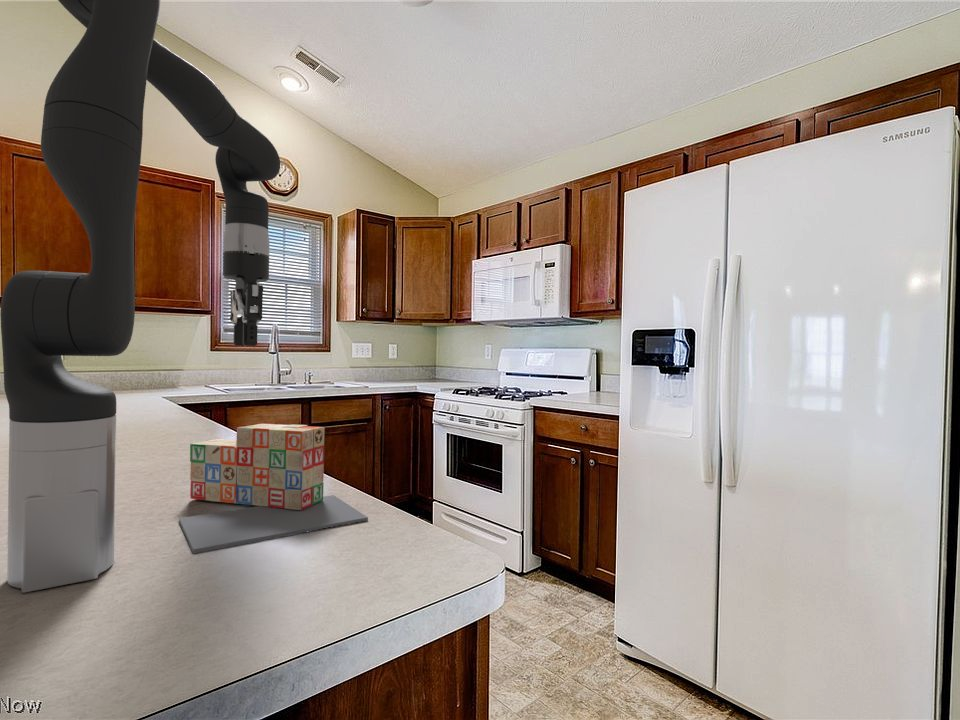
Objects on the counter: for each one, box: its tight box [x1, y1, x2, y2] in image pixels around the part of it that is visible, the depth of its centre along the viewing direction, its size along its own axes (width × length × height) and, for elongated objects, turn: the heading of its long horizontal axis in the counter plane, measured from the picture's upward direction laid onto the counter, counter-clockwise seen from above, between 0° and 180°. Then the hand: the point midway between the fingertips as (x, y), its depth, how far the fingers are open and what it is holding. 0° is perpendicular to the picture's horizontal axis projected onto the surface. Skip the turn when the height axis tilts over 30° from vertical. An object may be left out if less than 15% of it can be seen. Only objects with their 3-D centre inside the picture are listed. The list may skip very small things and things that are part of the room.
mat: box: [178, 494, 369, 554], centre depth 76 cm, size 14×23×1 cm, turn 127°
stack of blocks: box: [189, 423, 326, 510], centre depth 84 cm, size 21×6×12 cm, turn 74°
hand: (245, 345), depth 92 cm, fingers open, 7 cm apart
